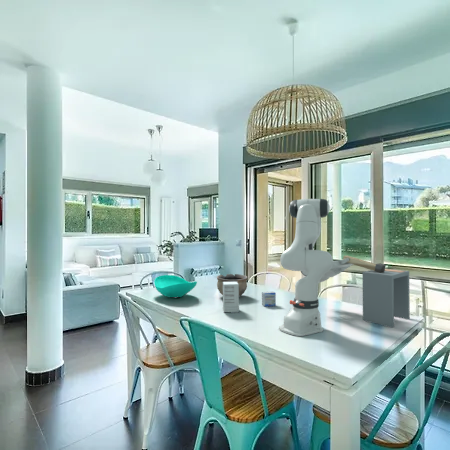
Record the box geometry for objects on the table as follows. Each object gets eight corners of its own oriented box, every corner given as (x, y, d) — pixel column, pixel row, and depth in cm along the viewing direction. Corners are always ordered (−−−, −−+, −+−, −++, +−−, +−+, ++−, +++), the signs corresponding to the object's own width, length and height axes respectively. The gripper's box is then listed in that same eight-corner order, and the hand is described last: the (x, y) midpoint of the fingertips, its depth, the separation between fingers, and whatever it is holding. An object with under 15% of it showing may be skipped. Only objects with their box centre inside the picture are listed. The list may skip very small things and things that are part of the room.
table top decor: (206, 299, 210) (206, 280, 210) (170, 305, 194) (170, 285, 194) (179, 289, 242) (179, 273, 242) (146, 294, 225) (146, 277, 225)
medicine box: (264, 307, 190) (264, 293, 190) (261, 305, 194) (261, 291, 194) (275, 306, 192) (275, 292, 192) (272, 304, 196) (272, 291, 196)
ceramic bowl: (241, 292, 231) (240, 273, 231) (252, 299, 210) (252, 277, 210) (213, 294, 224) (213, 274, 224) (222, 301, 203) (222, 279, 203)
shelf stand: (392, 327, 151) (391, 274, 151) (362, 320, 162) (362, 271, 162) (409, 318, 164) (409, 270, 164) (381, 312, 176) (381, 267, 176)
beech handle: (380, 273, 159) (381, 265, 158) (342, 260, 175) (343, 254, 175) (384, 272, 162) (385, 264, 161) (346, 260, 178) (347, 253, 178)
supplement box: (239, 312, 178) (239, 284, 178) (223, 313, 177) (223, 284, 177) (237, 308, 187) (237, 281, 187) (222, 308, 187) (222, 281, 187)
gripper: (320, 265, 178) (339, 254, 168) (339, 262, 190) (357, 252, 181) (325, 275, 175) (344, 265, 166) (344, 271, 188) (362, 262, 179)
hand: (351, 258), depth 173 cm, fingers closed on beech handle, 4 cm apart
